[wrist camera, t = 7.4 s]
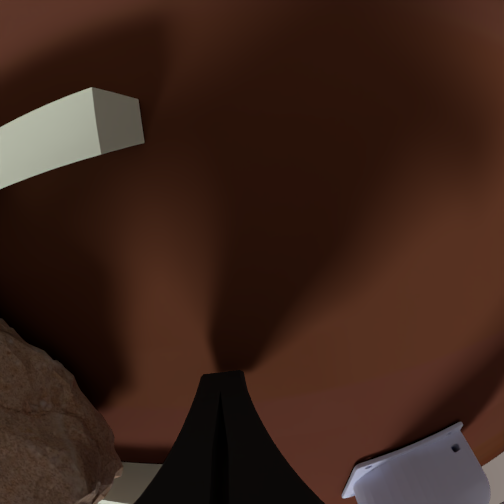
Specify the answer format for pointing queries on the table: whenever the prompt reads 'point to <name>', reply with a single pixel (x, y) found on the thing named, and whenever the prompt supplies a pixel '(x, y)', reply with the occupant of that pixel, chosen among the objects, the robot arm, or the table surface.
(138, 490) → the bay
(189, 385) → the table surface
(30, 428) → the stone
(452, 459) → the robot arm
